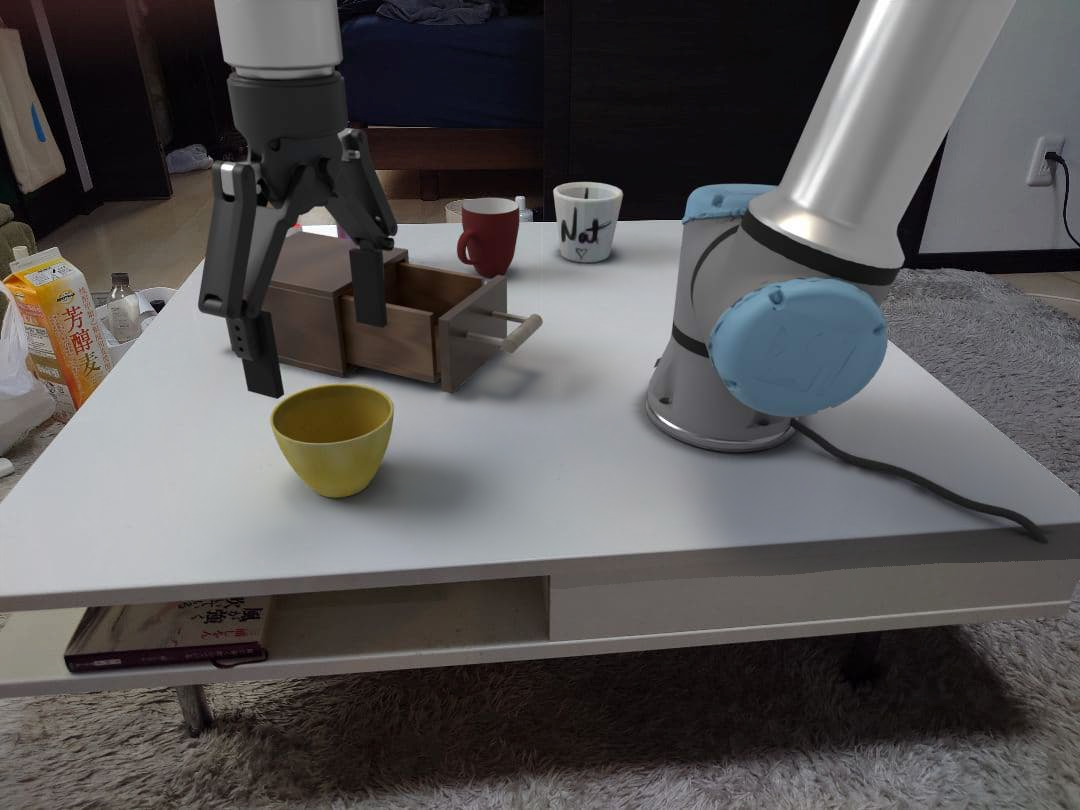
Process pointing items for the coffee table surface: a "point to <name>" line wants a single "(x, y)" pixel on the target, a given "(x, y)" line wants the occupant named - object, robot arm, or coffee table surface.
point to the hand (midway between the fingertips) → (323, 355)
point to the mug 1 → (489, 235)
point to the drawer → (434, 325)
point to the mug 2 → (586, 219)
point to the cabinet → (313, 300)
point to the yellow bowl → (334, 435)
